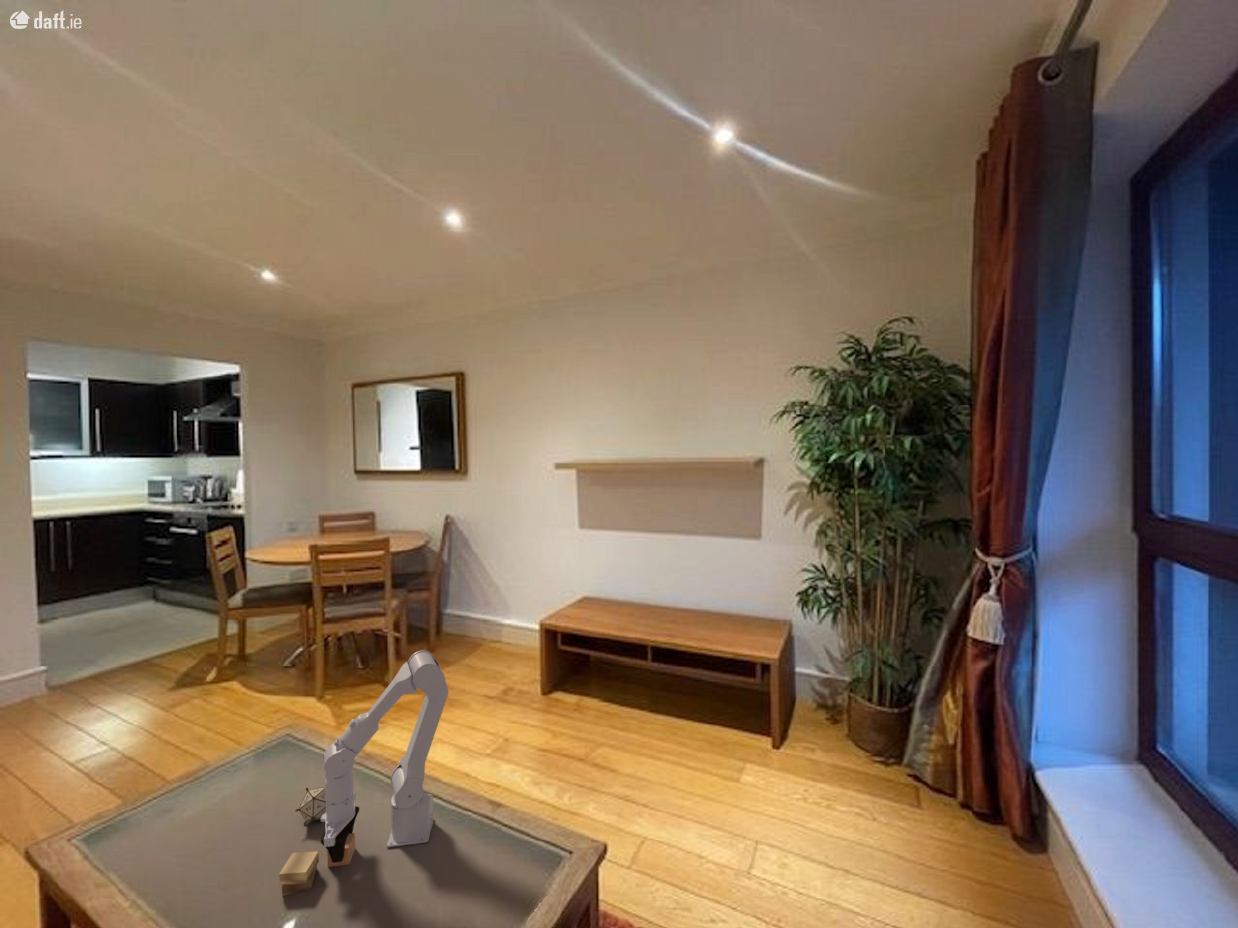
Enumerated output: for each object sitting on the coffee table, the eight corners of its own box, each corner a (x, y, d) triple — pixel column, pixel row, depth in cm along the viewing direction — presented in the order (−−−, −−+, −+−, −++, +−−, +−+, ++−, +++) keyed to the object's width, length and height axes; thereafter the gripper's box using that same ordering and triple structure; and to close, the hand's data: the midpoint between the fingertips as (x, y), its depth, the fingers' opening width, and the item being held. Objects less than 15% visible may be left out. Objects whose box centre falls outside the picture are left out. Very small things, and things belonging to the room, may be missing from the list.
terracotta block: (355, 848, 123) (354, 832, 123) (349, 864, 119) (348, 847, 119) (335, 851, 122) (334, 835, 122) (327, 867, 118) (327, 850, 118)
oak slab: (318, 861, 117) (318, 851, 117) (306, 882, 111) (305, 872, 111) (293, 863, 116) (292, 852, 116) (279, 884, 111) (279, 873, 111)
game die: (319, 836, 131) (312, 824, 125) (292, 820, 133) (284, 807, 126) (346, 800, 138) (341, 786, 132) (320, 785, 140) (313, 771, 133)
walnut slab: (316, 869, 118) (316, 859, 118) (311, 889, 113) (311, 879, 112) (288, 876, 116) (288, 866, 116) (282, 897, 111) (281, 886, 110)
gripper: (332, 777, 126) (334, 829, 127) (307, 821, 112) (310, 880, 113) (363, 773, 127) (365, 826, 128) (343, 817, 113) (345, 875, 114)
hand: (341, 851), depth 121 cm, fingers open, 5 cm apart
